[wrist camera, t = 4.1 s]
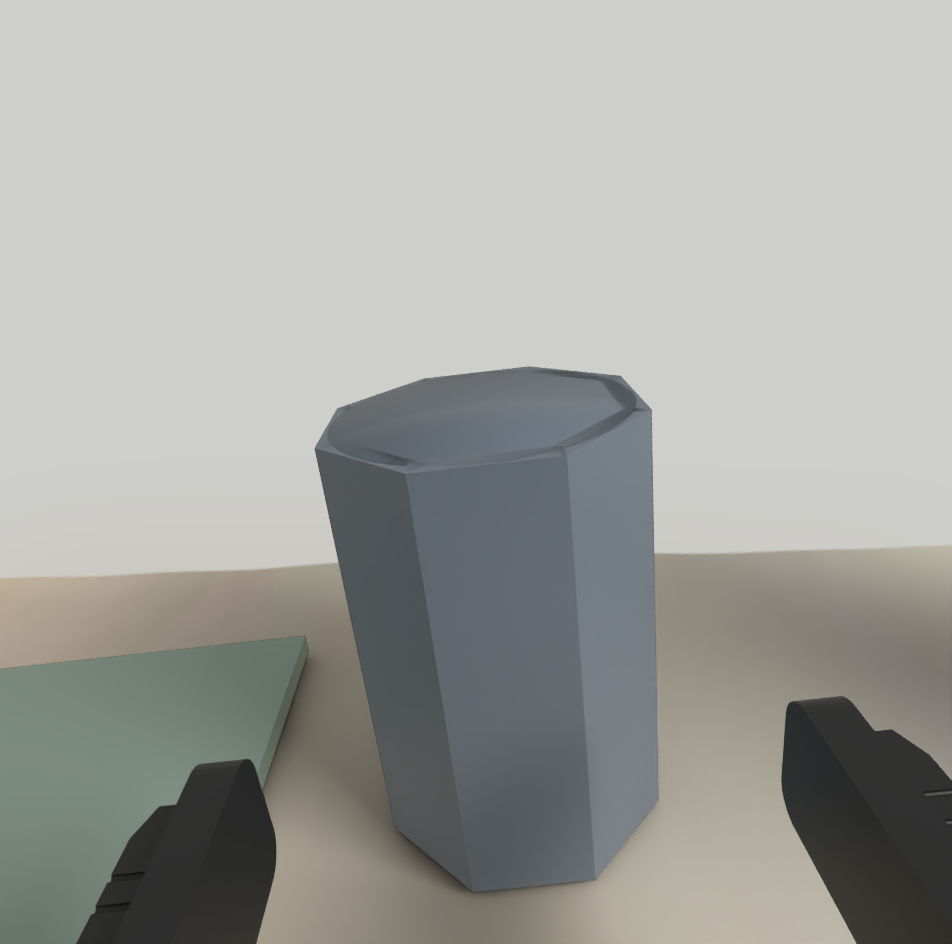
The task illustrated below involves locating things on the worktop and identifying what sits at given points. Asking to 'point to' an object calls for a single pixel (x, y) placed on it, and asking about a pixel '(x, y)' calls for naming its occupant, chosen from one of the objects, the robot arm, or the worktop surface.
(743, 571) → the worktop surface
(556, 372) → the grey octagonal prism
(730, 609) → the worktop surface
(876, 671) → the worktop surface
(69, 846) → the mat
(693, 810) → the worktop surface
